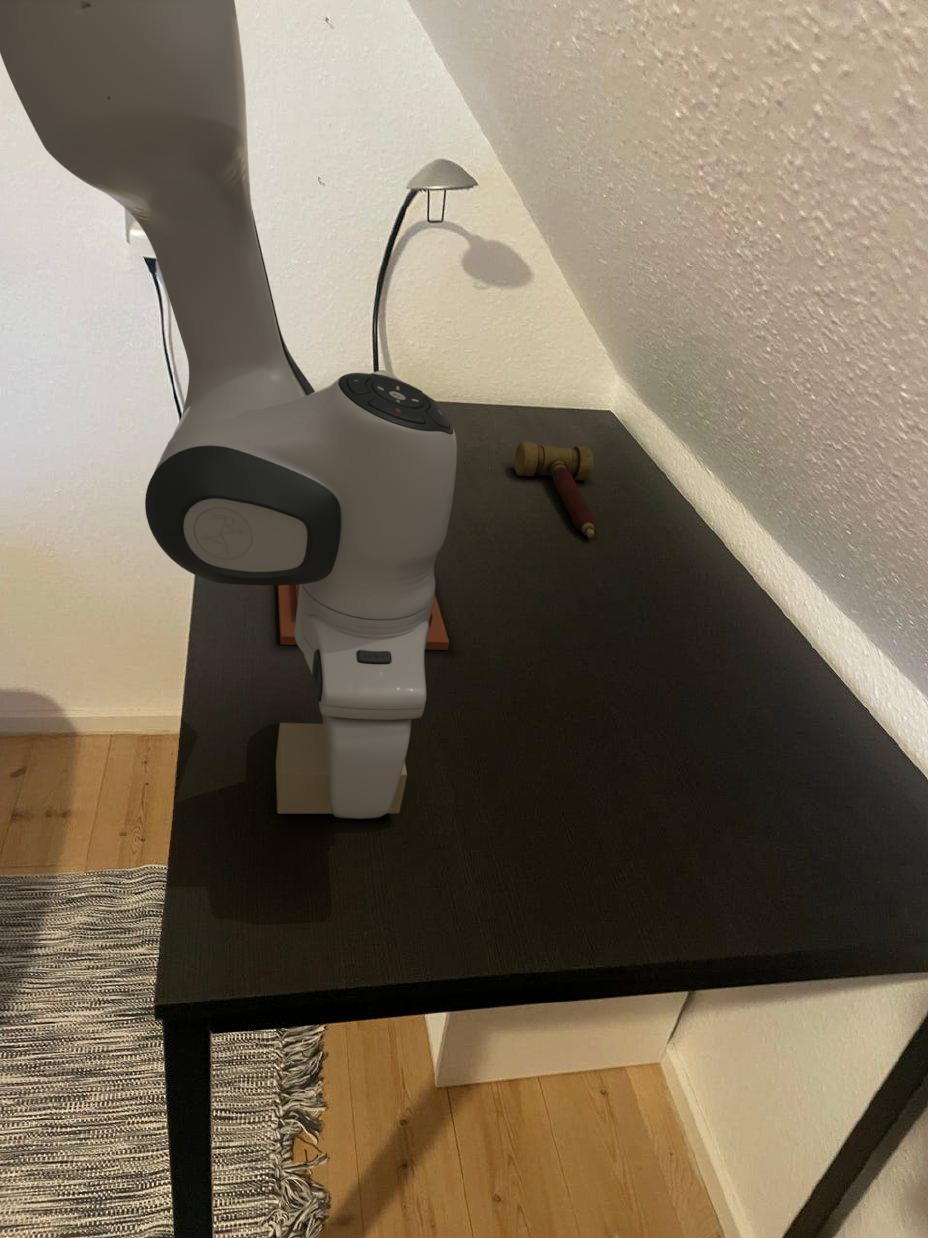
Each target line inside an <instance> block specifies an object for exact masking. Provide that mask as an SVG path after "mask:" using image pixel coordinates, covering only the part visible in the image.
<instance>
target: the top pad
mask: <svg viewBox="0 0 928 1238" xmlns="http://www.w3.org/2000/svg"><path fill="white" fill-rule="evenodd" d="M278 727H279V728H278V736H277V737H278V738H277V745H276V746H277V747H276V756H275V783H276V784H275V785H276V813H277V814H280V815H281V814H282V815H283V814H286V815H287V814H291V815H293V814H296V815H298V814H299V815H300V814H301V815H302V814H303V815H304V814H306V815H307V814H309V815H310V814H316V815H317V814H320V815H321V814H323V815H324V814H325V815H327V814H328V815H329V814H332V815H333V813H332V811H331V806H330V790H329V780H328V769H327V759H326V748H325V738H324V728H323V723H302V722H301V723H298V722H280V723H279V726H278ZM407 777H408V772H407V767H406V761H405V762H404V765H403V769H402V773H401V776H400V780H399V784H398V787H397V790H396V794H395V797H394V800H393V803H392V806H391V808H390V810H389V811H388V812H387V813H386V814H400V811H401V806H402V801H403V796H404V791H405V787H406V781H407Z"/></svg>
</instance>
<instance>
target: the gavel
mask: <svg viewBox="0 0 928 1238" xmlns="http://www.w3.org/2000/svg"><path fill="white" fill-rule="evenodd" d="M593 467H594V454H593V451H592V448H590V447H587V446H574V447H573V448H572V449H571V448H570V447H561V446H551V445H550V446H549V445H540V446H538V445H537V443H536V442H532V441H520V442H519V443H518V444H517V446H516V450H515V453H514V470H515V473H516V474H517V476H522V477H533V476H534V475H535V474H537V475H539V476H550V477H552V481H553V485H554V486H555V488H556V490H557V492H558V494H559V496H560V498H561V501H562V503H563V504H564V506H565V509H566V512H567V513H568V515H569V518H570V519H571V522H572V523H573V526H574V527H575V528H576V529H577V530H578V531H580V532H581V533H582V534H583V535H585V536H586V537H587V538H590V539H591V538H594V537H595V518H594V516H593V514H592V511H591V510H590V508H589V505H588V504H587V502H586V500H585V499H584V497H583V494H582V493H581V491H580V489H579V486H578V485H577V483H576V481H588V479H589V478H590V477H591V475H592V472H593Z"/></svg>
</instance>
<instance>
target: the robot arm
mask: <svg viewBox="0 0 928 1238" xmlns="http://www.w3.org/2000/svg"><path fill="white" fill-rule="evenodd" d="M238 21H239V20H238V15H237V8H236V3H235V0H0V57H1V59H2V62H3V64H4V67H5V69H6V72H7V74H8V77H9V79H10V82H11V83H12V86H13V88H14V91H15V93H16V94H17V97H18V99H19V100H20V103H21V105H22V107H23V109H24V111H25V113H26V115H27V117H28V119H29V121H30V123H31V125H32V127H33V129H34V131H35V133H36V134H37V137H38V138H39V140H40V142H41V144H42V146H43V148H44V149H45V151H46V152H47V153H48V154H49V155H50V156H51V157H52V158H53V159H54V160H55V161H56V162H57V163H59V164H60V165H61V167H63V168H64V169H66V170H67V171H68V172H69V173H71V174H72V175H73V176H74V177H76V178H77V179H79V180H81V181H82V182H83V183H85V184H87V185H89V186H91V187H92V188H94V189H96V190H99V191H100V192H102V193H104V194H106V195H108V196H109V197H110V198H112V199H113V200H115V202H117V203H118V204H120V205H121V206H122V207H123V208H124V209H125V210H126V211H127V212H128V213H129V214H130V215H131V216H132V217H133V218H134V219H135V221H136V222H137V223H138V225H139V226H140V227H141V229H142V231H143V233H144V234H145V235H146V238H147V239H148V241H149V243H150V245H151V248H152V250H153V253H154V255H155V258H156V262H157V264H158V267H159V270H160V274H161V277H162V280H163V283H164V287H165V290H166V293H167V296H168V299H169V302H170V306H171V309H172V312H173V315H174V319H175V322H176V325H177V328H178V332H179V335H180V339H181V341H182V344H183V348H184V351H185V355H186V358H187V365H188V384H187V392H186V397H185V401H184V405H183V410H182V413H181V416H180V419H179V422H178V424H177V425H176V427H175V430H174V432H173V434H172V436H171V437H170V439H169V440H168V441H167V444H166V446H165V447H164V449H163V452H162V454H161V456H160V457H159V460H158V462H157V465H156V467H155V469H154V470H153V471H154V472H153V474H152V476H151V477H150V480H149V482H148V485H147V488H146V492H145V500H144V504H145V505H144V509H145V516H146V520H147V524H148V527H149V529H150V532H151V534H152V537H153V538H154V539H155V541H156V543H157V544H158V546H159V548H161V550H162V551H163V552H164V553H165V554H166V555H167V557H168V558H170V559H171V560H172V561H173V562H175V564H177V566H179V567H181V568H182V569H183V570H185V571H187V572H188V573H190V574H192V575H194V576H197V577H199V578H201V579H204V580H207V581H210V582H214V583H219V584H226V585H227V584H228V585H238V586H239V585H242V586H278V585H298V584H300V585H299V594H298V604H297V612H296V621H295V632H294V634H295V640H296V642H297V645H296V646H298V648H299V650H300V651H301V652H302V653H303V656H304V659H305V661H306V664H307V666H308V669H309V671H310V673H311V676H312V680H313V684H314V687H315V693H316V699H317V701H318V706H319V712H320V714H321V717H322V724H323V728H324V738H325V748H326V759H327V769H328V780H329V790H330V806H331V811H332V813H333V814H332V815H333V816H334V817H336V818H341V819H355V820H356V819H357V820H361V819H363V820H364V819H377V818H381V817H383V816H385V815H387V814H388V813H387V812H388V811H389V810H390V808H391V806H392V803H393V800H394V797H395V794H396V790H397V787H398V784H399V780H400V776H401V773H402V769H403V765H404V762H405V763H406V758H407V754H408V749H409V743H410V737H411V732H412V731H411V729H412V719H420V718H422V716H423V714H424V711H425V706H426V702H427V672H426V655H425V651H426V649H425V647H426V642H427V637H428V632H429V619H430V614H431V609H432V603H433V599H434V593H435V594H436V578H435V563H436V559H437V556H438V554H439V552H440V551H441V549H442V547H443V546H444V543H445V541H446V538H447V534H448V530H449V529H448V528H449V522H450V517H451V512H452V506H453V500H454V492H455V484H456V475H457V465H458V464H457V463H458V462H457V460H458V445H457V444H458V443H457V436H456V432H455V429H454V426H453V424H452V421H451V420H450V417H449V416H448V415H447V413H446V411H445V409H443V407H442V406H441V405H440V404H439V403H438V401H436V400H435V399H433V398H432V397H430V396H429V395H427V394H426V393H425V392H423V391H422V390H421V389H419V388H417V387H415V386H414V385H411V384H409V383H407V382H404V381H403V380H400V379H398V378H395V377H391V376H388V375H384V374H380V373H373V372H371V373H367V372H349V373H347V374H344V375H341V376H340V377H338V378H337V379H336V380H335V381H334V382H332V383H331V384H329V385H327V386H326V387H323V388H321V389H319V390H316V391H315V389H314V387H313V386H312V384H311V383H310V381H309V380H308V379H307V377H306V376H305V374H304V373H303V371H302V370H301V368H300V367H299V366H298V364H297V363H296V361H295V360H294V357H293V356H292V354H291V353H290V351H289V349H288V346H287V344H286V342H285V339H284V337H283V334H282V331H281V327H280V324H279V319H278V316H277V311H276V306H275V301H274V298H273V294H272V290H271V285H270V281H269V276H268V272H267V268H266V263H265V259H264V255H263V252H262V247H261V243H260V238H259V233H258V229H257V225H256V220H255V215H254V209H253V205H252V198H251V197H252V195H251V185H250V168H249V167H250V166H249V165H250V164H249V147H248V125H247V121H248V120H247V100H246V99H247V98H246V83H245V74H244V63H243V61H244V60H243V55H242V46H241V45H242V44H241V36H240V30H239V29H240V28H239V22H238Z"/></svg>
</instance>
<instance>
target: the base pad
mask: <svg viewBox="0 0 928 1238" xmlns="http://www.w3.org/2000/svg"><path fill="white" fill-rule="evenodd" d="M299 585H300V584H298V585H277V601H278V602H277V603H278V604H277V605H278V621H279V622H278V624H279V626H278V627H279V644H280V645H283V646H284V645H285V646H298V645H297V642H296V640H295V634H294V632H295V621H296V612H297V604H298V594H299ZM447 634H448V633H447V630H446V627H445V623H444V620H443V616H442V614H441V609H440V606H439V603H438V600H437V597H436V592H435V593H434V599H433V603H432V609H431V614H430V619H429V632H428V637H427V642H426V647H425V650H428V651H429V650H433V651H434V650H435V651H448V650H449V644H450V639H449V638H448V635H447Z"/></svg>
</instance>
